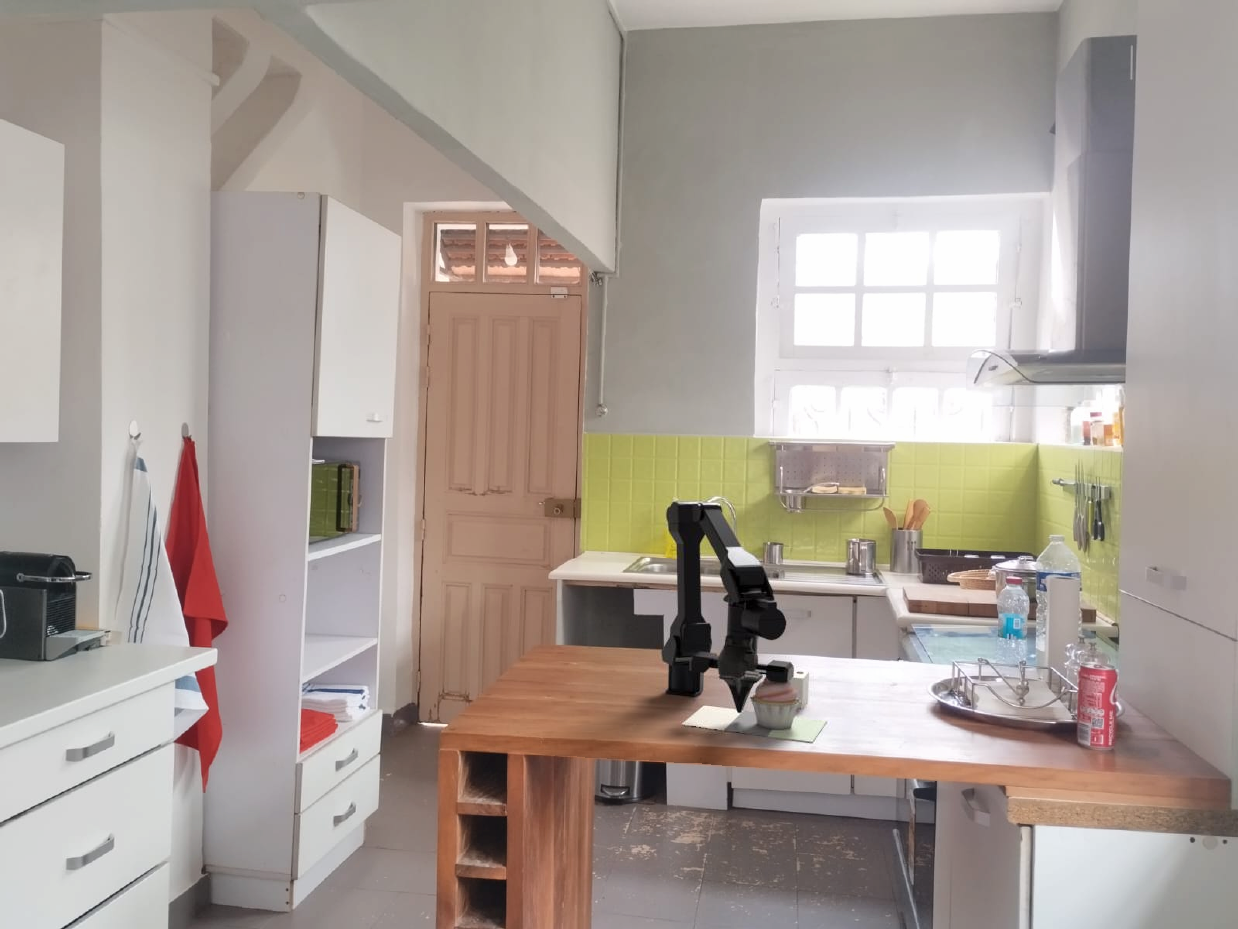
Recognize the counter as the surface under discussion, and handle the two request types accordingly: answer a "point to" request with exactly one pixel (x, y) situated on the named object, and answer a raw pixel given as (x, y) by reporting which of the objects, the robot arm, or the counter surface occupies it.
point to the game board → (753, 724)
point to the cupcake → (775, 704)
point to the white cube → (801, 686)
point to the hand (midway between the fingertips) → (739, 712)
